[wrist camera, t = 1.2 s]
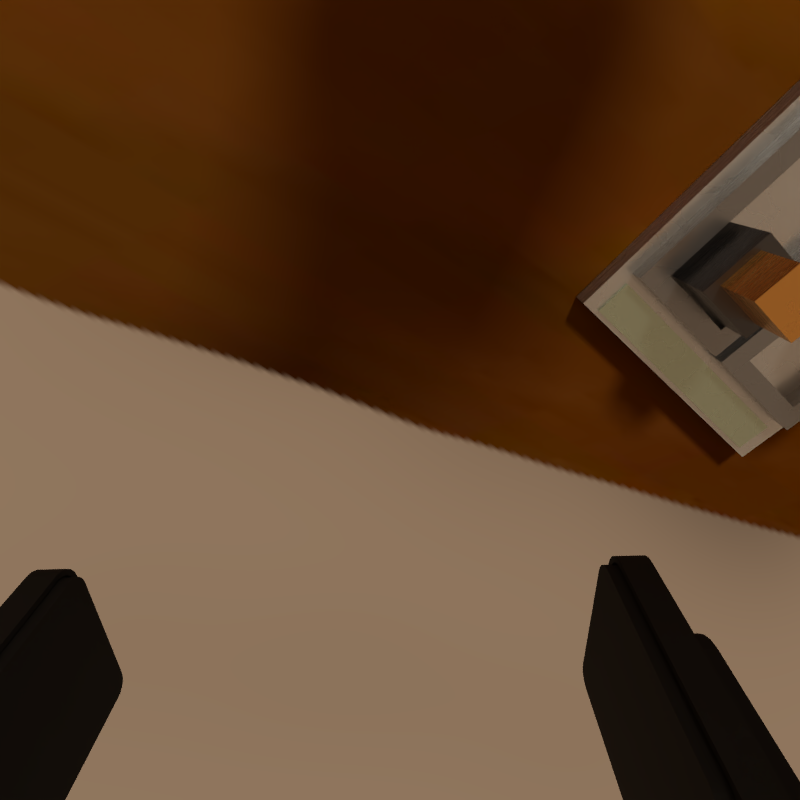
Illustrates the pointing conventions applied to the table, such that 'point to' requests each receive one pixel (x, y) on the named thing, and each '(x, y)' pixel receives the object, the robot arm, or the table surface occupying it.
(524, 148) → the table surface
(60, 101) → the table surface
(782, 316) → the breaker panel
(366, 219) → the table surface
